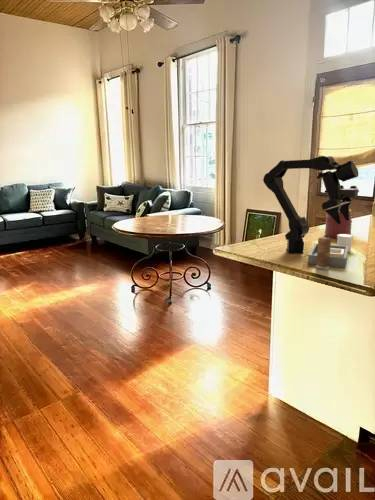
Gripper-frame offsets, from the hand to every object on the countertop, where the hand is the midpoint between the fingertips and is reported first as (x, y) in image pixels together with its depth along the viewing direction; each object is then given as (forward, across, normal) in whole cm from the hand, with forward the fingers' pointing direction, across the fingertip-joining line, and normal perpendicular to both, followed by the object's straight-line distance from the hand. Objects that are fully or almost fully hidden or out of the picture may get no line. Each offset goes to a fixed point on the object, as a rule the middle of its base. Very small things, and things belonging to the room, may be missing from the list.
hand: (344, 222), depth 150 cm
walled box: (+13, -3, +10) cm, 17 cm away
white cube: (+14, +16, +10) cm, 24 cm away
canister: (+9, +42, +22) cm, 49 cm away
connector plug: (+14, -16, +7) cm, 23 cm away
